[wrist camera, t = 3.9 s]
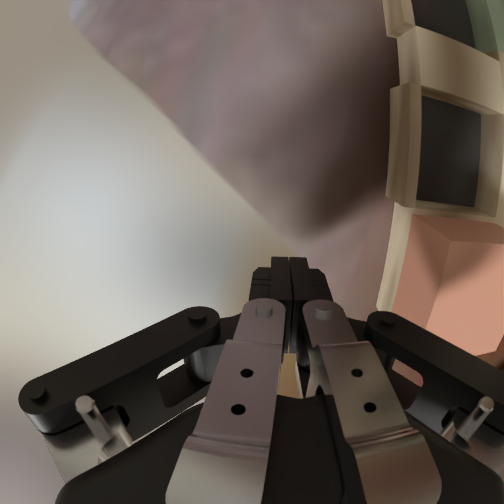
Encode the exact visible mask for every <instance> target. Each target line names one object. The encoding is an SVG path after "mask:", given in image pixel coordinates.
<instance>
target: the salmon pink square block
mask: <svg viewBox="0 0 504 504" xmlns="http://www.w3.org/2000/svg"><path fill="white" fill-rule="evenodd" d="M391 312H393V313H395V314H397V315H399V316H401V317H403V318H405V319H407V320H409V321H411V322H413V323H414V324H416V325H418V326H420V327H422V328H424V329H426V330H428V331H429V332H431V333H433V334H435V335H437V336H439V337H441V338H442V339H444V340H446V341H448V342H450V343H452V344H454V345H455V346H457V347H459V348H461V349H463V350H465V351H466V352H468V353H470V354H472V355H474V356H476V355H480V354H485V353H489V352H493V351H496V349H497V347H498V345H499V343H500V341H501V339H502V337H503V334H504V228H503V227H501V226H499V225H497V224H496V223H488V222H481V221H472V220H464V219H455V218H446V217H436V216H426V215H415V214H412V218H411V224H410V230H409V236H408V242H407V247H406V252H405V257H404V262H403V267H402V271H401V276H400V280H399V284H398V288H397V292H396V296H395V300H394V304H393V308H392V311H391Z"/></svg>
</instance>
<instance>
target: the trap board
mask: <svg viewBox="0 0 504 504" xmlns="http://www.w3.org/2000/svg"><path fill="white" fill-rule="evenodd" d="M382 4H383V10H384V18H385V26H386V35H387V36H388V37H392V38H396V39H397V47H398V60H399V77H400V85H399V86H397V87H394V88H391V89H390V139H389V159H388V173H387V185H386V195H385V196H386V197H388V198H389V199H391V200H393V201H395V203H394V211H393V219H392V226H391V233H390V239H389V245H388V251H387V256H386V262H385V267H384V272H383V277H382V282H381V286H380V291H379V295H378V299H377V304H376V307H377V308H378V310H379V311H389V312H391V311H392V308H393V304H394V300H395V296H396V292H397V288H398V284H399V280H400V276H401V271H402V267H403V262H404V257H405V252H406V247H407V242H408V236H409V230H410V224H411V218H412V214H415V215H426V216H436V217H446V218H455V219H464V220H472V221H481V222H488V223H496V224H497V225H499V226H501V227H503V228H504V0H382Z"/></svg>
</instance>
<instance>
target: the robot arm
mask: <svg viewBox="0 0 504 504" xmlns="http://www.w3.org/2000/svg"><path fill="white" fill-rule="evenodd" d="M288 343H289V353H296V357H297V358H296V366H295V372H296V378H297V384H298V390H299V396H300V399H296V398H291V397H287V396H281V395H278V387H279V378H280V368H281V364H282V362H283V356H284V353H288ZM181 359H184V364H183V365H181V366H180V367H178V368H176V369H174V370H173V371H171V372H169V373H167V374H166V375H164V376H162V377H160V378H158V379H157V377H158V375H159V374H160V372H162V371H163V370H164V369H166V368H168V367H169V366H171V365H173V364H175V363H176V362H178V361H180V360H181ZM395 359H397V360H399V361H401V362H402V363H404V364H405V365H407V366H409V367H410V368H412V369H414V370H415V371H417V372H418V373H420V374H421V376H422V377H423V386H422V387H419V386H418V385H416V384H414V383H413V382H411V381H410V380H408V379H406V378H405V377H403V376H402V375H400V374H399V373H397V372H395V371H394V370H392V366H393V364H394V361H395ZM204 397H206V399H205V402H204V403H201V404H198V405H196V406H193V407H191V408H189V407H190V406H192V405H194V404H195V403H197V402H198V401H199V400H201V399H203V398H204ZM18 400H19V405H20V407H21V409H22V410H23V411H24V413H25V414H26V415H27V416H28V418H29V419H30V420H31V422H32V423H33V425H34V427H35V428H36V429H37V431H38V432H39V433H40V434H41V435H42V437H43V438H44V439H45V442H46V444H47V447H48V449H49V451H50V454H51V456H52V458H53V460H54V462H55V464H56V466H57V468H58V470H59V472H60V474H61V476H62V478H63V480H64V482H65V485H64V487H63V488H62V489H61V491H60V492H59V494H58V496H57V499H56V502H55V504H504V482H503V480H502V479H501V477H500V476H499V475H498V474H499V472H500V470H501V468H502V465H503V463H504V372H503V371H501V370H499V369H498V368H496V367H494V366H492V365H490V364H488V363H487V362H485V361H483V360H481V359H479V358H477V357H476V356H474V355H472V354H470V353H468V352H466V351H465V350H463V349H461V348H459V347H457V346H455V345H454V344H452V343H450V342H448V341H446V340H444V339H442V338H441V337H439V336H437V335H435V334H433V333H431V332H429V331H428V330H426V329H424V328H422V327H420V326H418V325H416V324H414V323H413V322H411V321H409V320H407V319H405V318H403V317H401V316H399V315H397V314H395V313H393V312H389V311H376V312H373V313H371V314H370V315H369V316H368V319H367V322H365V321H360V320H355V319H351V318H348V317H346V315H345V312H344V310H343V309H342V307H341V306H340V305H338V304H337V303H335V302H334V301H333V298H332V295H331V292H330V289H329V287H328V283H327V280H326V277H325V274H324V273H322V272H321V271H320V270H319V269H309V266H308V262H307V258H305V257H289V260H288V257H271V268H268V267H259V268H257V269H256V270H255V271H254V272H253V276H252V282H251V289H250V295H249V301H248V302H247V303H246V304H245V305H244V307H243V310H242V313H240V314H238V315H236V316H232V317H226V318H220V317H219V314H218V313H217V312H216V311H215V310H214V309H212V308H209V307H202V306H197V307H191V308H187V309H185V310H183V311H181V312H179V313H177V314H174V315H172V316H170V317H168V318H166V319H164V320H162V321H160V322H158V323H156V324H153V325H151V326H149V327H147V328H145V329H143V330H141V331H139V332H137V333H134V334H132V335H130V336H128V337H126V338H124V339H121V340H120V341H117V342H115V343H113V344H111V345H109V346H106V347H104V348H102V349H100V350H98V351H95V352H93V353H91V354H89V355H87V356H84V357H82V358H80V359H78V360H76V361H73V362H71V363H69V364H67V365H65V366H62V367H60V368H58V369H55V370H53V371H51V372H49V373H46V374H44V375H42V376H40V377H37V378H35V379H33V380H31V381H29V382H28V383H26V385H24V387H23V388H22V389H21V391H20V393H19V398H18ZM187 408H189V409H187ZM186 409H187V410H186ZM184 410H185V411H184ZM183 411H184V412H183ZM181 412H182V413H181ZM180 413H181V414H180ZM178 414H179V415H178ZM176 415H178V416H176ZM175 416H176V417H175ZM173 417H175V418H173ZM172 418H173V419H172ZM170 419H172V420H170ZM168 420H170V421H169V422H167V421H168ZM165 422H167V423H166V424H165V425H163V426H161V427H160V428H158V429H157V430H155V431H154V432H152V433H150V434H149V435H147V436H146V437H144V438H143V439H141V440H139V441H138V442H136V443H134V444H133V445H132V442H133V441H135V440H136V439H138V438H140V437H142V436H143V435H145V434H147V433H149V432H150V431H152V430H154V429H155V428H157V427H159V426H160V425H162V424H163V423H165Z"/></svg>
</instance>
